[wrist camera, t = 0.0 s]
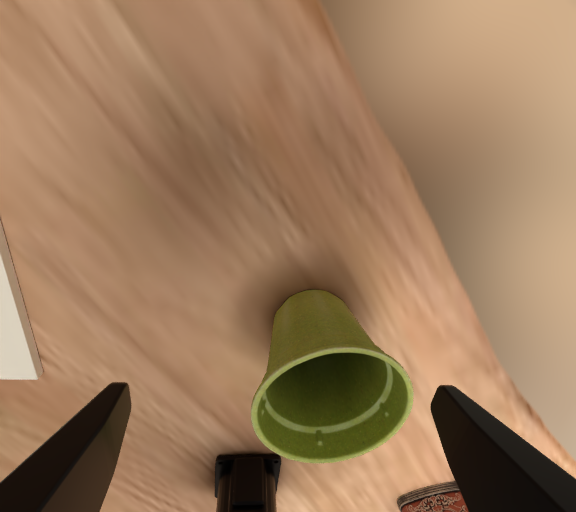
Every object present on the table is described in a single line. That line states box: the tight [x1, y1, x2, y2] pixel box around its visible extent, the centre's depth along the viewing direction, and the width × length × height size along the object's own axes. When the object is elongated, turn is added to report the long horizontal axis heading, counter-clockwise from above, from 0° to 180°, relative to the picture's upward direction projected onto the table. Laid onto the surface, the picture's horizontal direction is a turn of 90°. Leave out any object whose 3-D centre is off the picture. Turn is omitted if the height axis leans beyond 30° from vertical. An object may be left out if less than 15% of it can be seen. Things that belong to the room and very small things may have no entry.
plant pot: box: [251, 290, 413, 463], centre depth 23 cm, size 9×9×9 cm
